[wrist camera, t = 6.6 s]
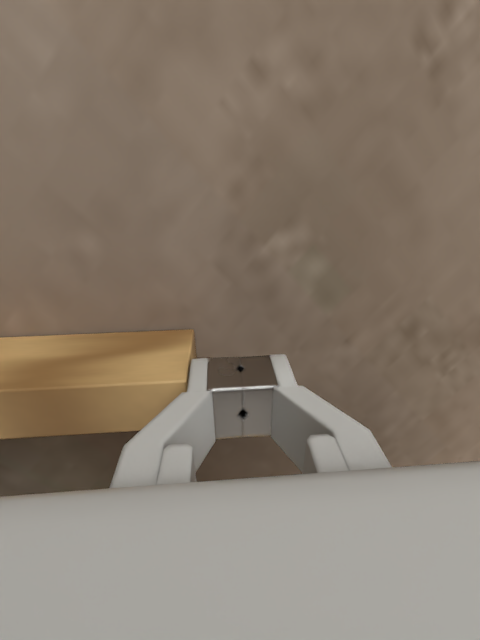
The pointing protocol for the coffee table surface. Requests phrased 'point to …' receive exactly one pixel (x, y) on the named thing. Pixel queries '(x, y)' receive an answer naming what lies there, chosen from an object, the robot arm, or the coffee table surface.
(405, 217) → the coffee table surface
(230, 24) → the coffee table surface
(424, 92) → the coffee table surface
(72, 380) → the pronged wooden handle
